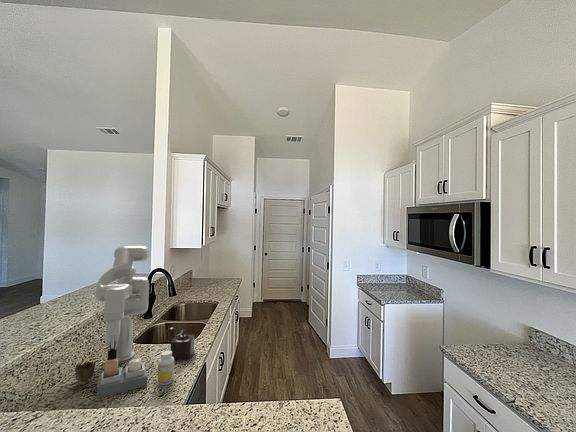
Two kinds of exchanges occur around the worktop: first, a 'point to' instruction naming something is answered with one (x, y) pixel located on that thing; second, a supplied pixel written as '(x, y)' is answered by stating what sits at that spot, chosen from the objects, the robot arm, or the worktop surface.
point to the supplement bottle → (166, 368)
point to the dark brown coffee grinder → (181, 344)
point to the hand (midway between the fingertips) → (111, 358)
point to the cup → (84, 372)
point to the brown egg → (111, 366)
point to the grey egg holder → (121, 381)
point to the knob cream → (135, 365)
